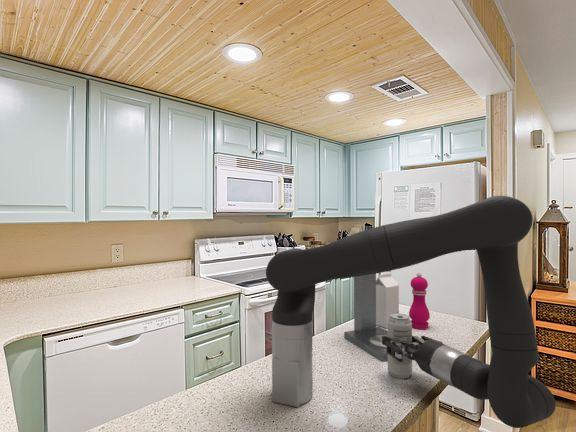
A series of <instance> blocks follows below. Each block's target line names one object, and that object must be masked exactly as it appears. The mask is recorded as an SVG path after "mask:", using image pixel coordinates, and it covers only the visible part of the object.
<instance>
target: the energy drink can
mask: <svg viewBox="0 0 576 432" xmlns="http://www.w3.org/2000/svg"><path fill="white" fill-rule="evenodd" d="M387 331H388V337H389V338H390V339H393V340H394V341H398V342H400V341H407V342H411V343H412V336H413V328H412V323H411V318H410V317H409V314H404V313H394V314H390V318H389V320H388V328H387ZM396 346H397V347H398V348H399V346H398V345H396ZM405 346H406V345H404V352H405ZM387 370H388V372H389V374H390V375H391V376H392V377H393V378H397V379H407V378H410V376H411V375H412V373H413V360H410V359H408V358H403V362H399V361H397V360H396V359H394V358H393V357H392V356H390V355H389V354H388V360H387Z"/></svg>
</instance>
